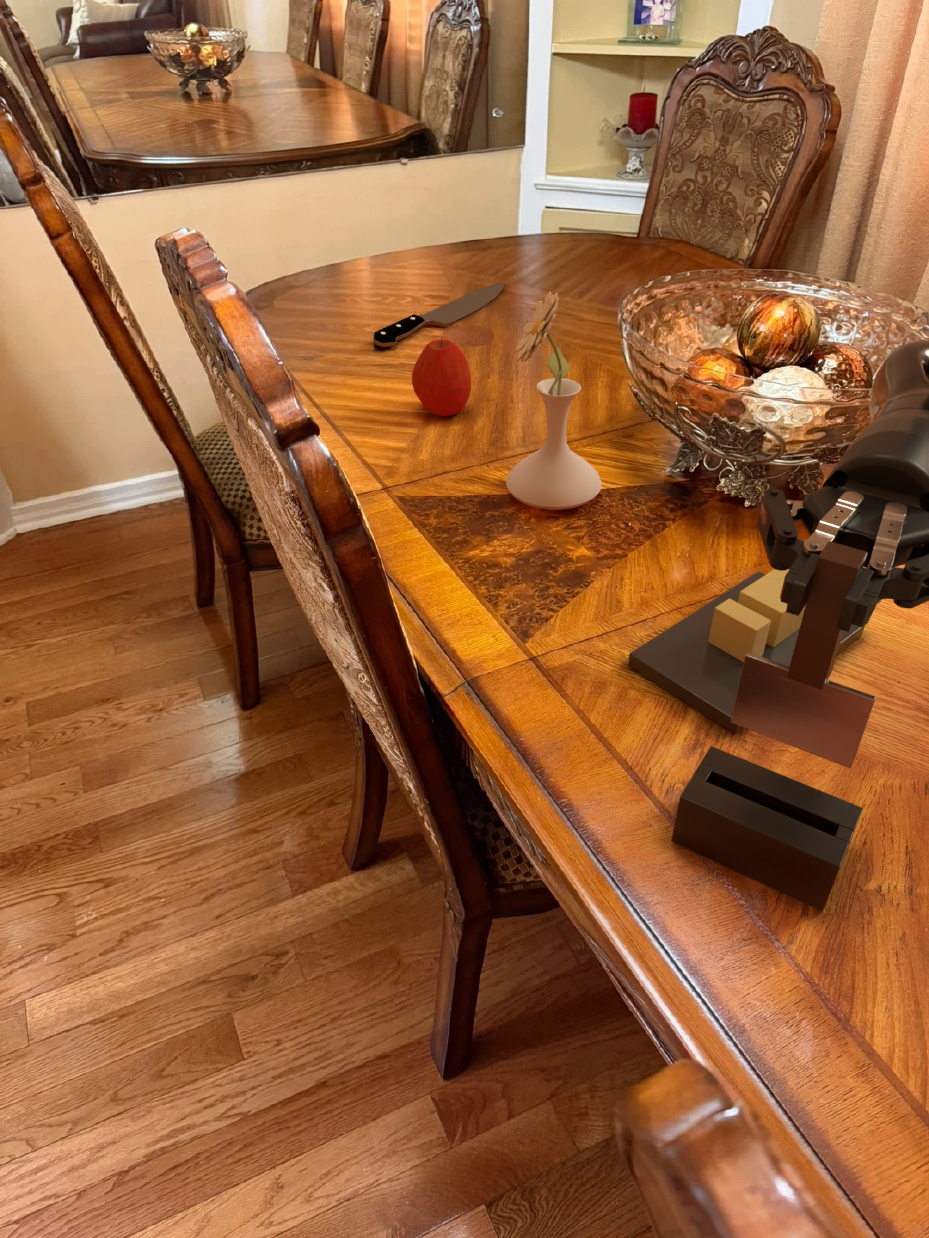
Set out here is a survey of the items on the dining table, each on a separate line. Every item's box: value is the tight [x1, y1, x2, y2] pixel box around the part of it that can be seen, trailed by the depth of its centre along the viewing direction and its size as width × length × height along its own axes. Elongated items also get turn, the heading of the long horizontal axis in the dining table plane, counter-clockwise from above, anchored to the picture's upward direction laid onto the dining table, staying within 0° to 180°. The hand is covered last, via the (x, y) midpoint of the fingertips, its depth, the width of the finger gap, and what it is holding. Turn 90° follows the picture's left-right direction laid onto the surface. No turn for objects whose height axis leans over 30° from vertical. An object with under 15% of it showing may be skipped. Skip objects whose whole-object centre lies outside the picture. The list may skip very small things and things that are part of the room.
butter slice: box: [708, 599, 771, 662], centre depth 81 cm, size 2×4×4 cm, turn 40°
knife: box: [731, 541, 877, 770], centre depth 55 cm, size 2×8×15 cm, turn 56°
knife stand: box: [670, 745, 864, 913], centre depth 64 cm, size 6×11×5 cm, turn 56°
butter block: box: [738, 568, 806, 647], centre depth 84 cm, size 7×4×4 cm, turn 131°
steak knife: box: [372, 281, 506, 350], centre depth 158 cm, size 5×41×2 cm, turn 147°
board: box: [627, 571, 866, 735], centre depth 83 cm, size 20×12×2 cm, turn 130°
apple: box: [411, 338, 472, 417], centre depth 124 cm, size 8×8×11 cm
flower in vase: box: [505, 290, 603, 511], centre depth 99 cm, size 13×11×25 cm
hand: (820, 609), depth 49 cm, fingers closed on knife, 2 cm apart
